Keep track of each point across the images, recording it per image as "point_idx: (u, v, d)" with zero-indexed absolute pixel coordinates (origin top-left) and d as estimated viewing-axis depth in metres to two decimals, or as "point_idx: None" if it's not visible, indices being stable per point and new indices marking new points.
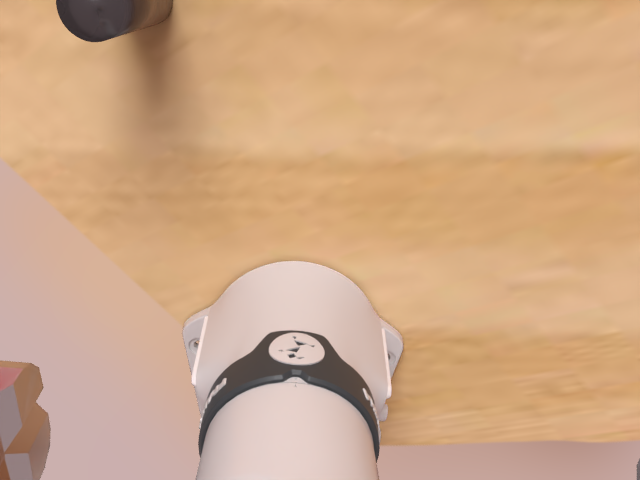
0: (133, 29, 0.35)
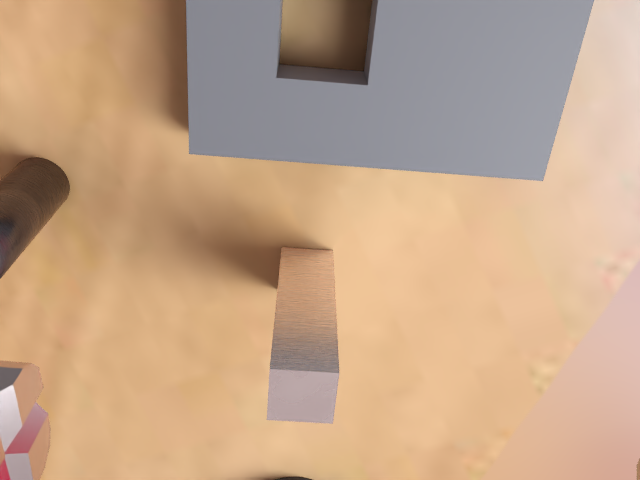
0: None
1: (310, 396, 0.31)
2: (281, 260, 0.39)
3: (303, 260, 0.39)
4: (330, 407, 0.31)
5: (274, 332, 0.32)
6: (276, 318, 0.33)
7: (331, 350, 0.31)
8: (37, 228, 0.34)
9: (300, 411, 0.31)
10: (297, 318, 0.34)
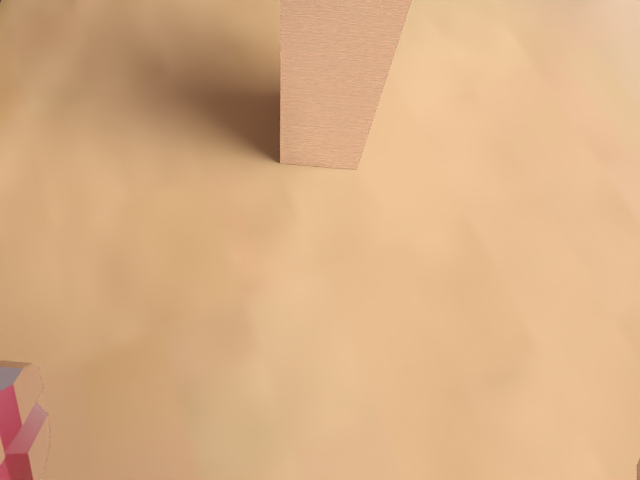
0: None
1: None
2: None
3: None
4: None
5: None
6: None
7: None
8: None
9: None
10: None
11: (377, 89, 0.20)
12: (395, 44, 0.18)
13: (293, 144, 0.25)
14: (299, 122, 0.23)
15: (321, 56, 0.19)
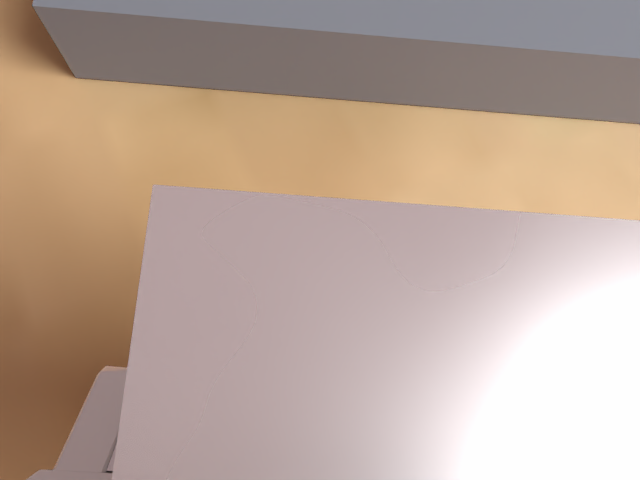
0: None
1: None
2: None
3: None
4: None
5: None
6: None
7: None
8: None
9: None
10: None
11: None
12: None
13: None
14: None
15: None
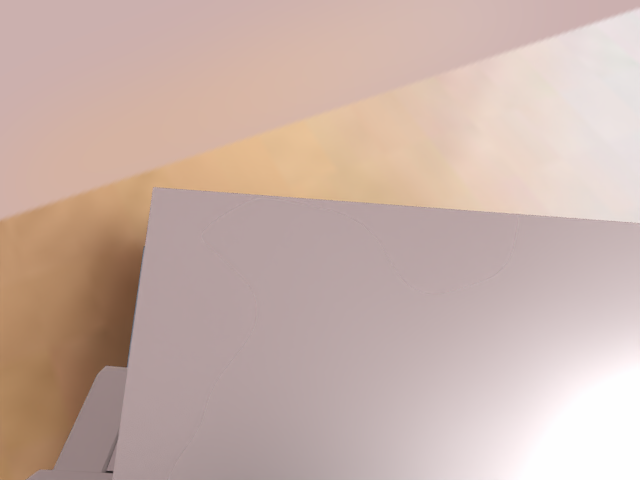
0: None
1: None
2: None
3: None
4: None
5: None
6: None
7: None
8: None
9: None
10: None
11: None
12: None
13: None
14: None
15: None
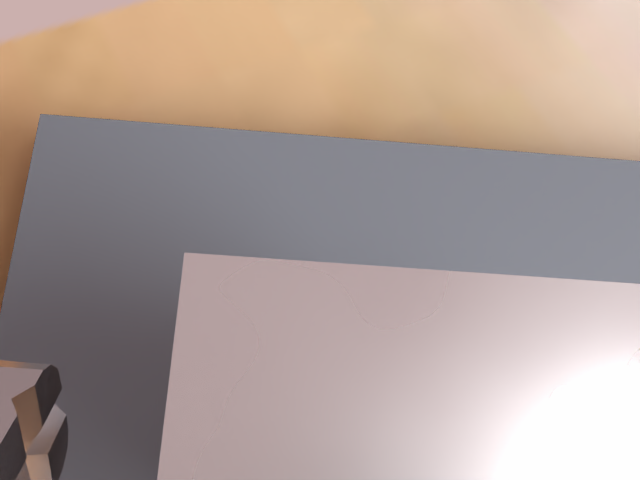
0: None
1: None
2: None
3: None
4: None
5: None
6: None
7: None
8: None
9: None
10: None
11: None
12: None
13: None
14: None
15: None
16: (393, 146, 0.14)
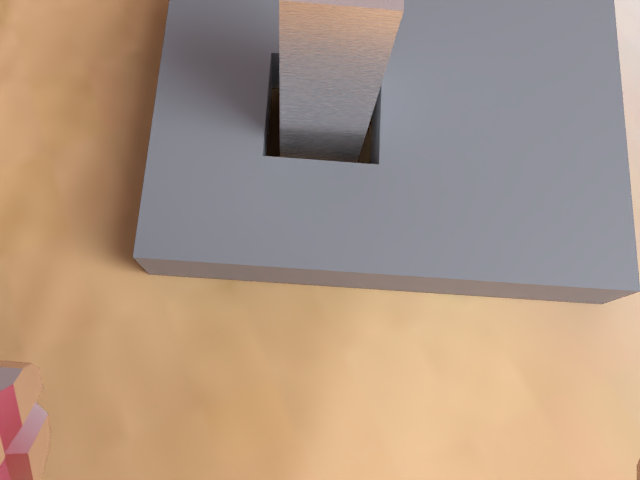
0: None
1: None
2: None
3: None
4: None
5: None
6: None
7: None
8: None
9: None
10: None
11: (371, 100, 0.22)
12: (387, 59, 0.19)
13: (293, 151, 0.26)
14: (298, 131, 0.24)
15: (318, 70, 0.20)
16: None
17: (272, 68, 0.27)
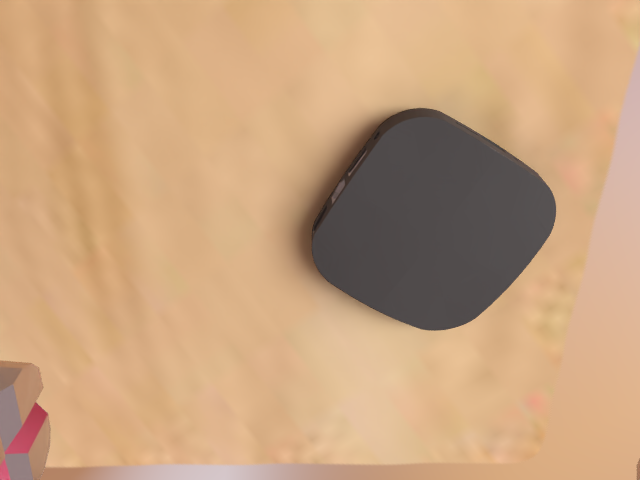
0: None
1: None
2: None
3: None
4: None
5: None
6: None
7: None
8: None
9: None
10: None
11: None
12: None
13: None
14: None
15: None
16: None
17: None
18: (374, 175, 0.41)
